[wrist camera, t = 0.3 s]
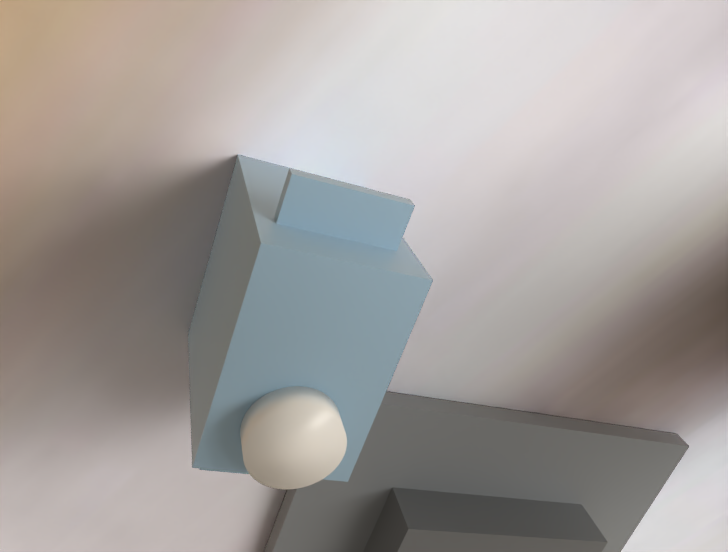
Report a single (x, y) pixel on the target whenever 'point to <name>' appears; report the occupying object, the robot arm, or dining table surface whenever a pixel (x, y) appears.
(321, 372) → the block
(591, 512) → the chassis plate
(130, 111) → the dining table surface
